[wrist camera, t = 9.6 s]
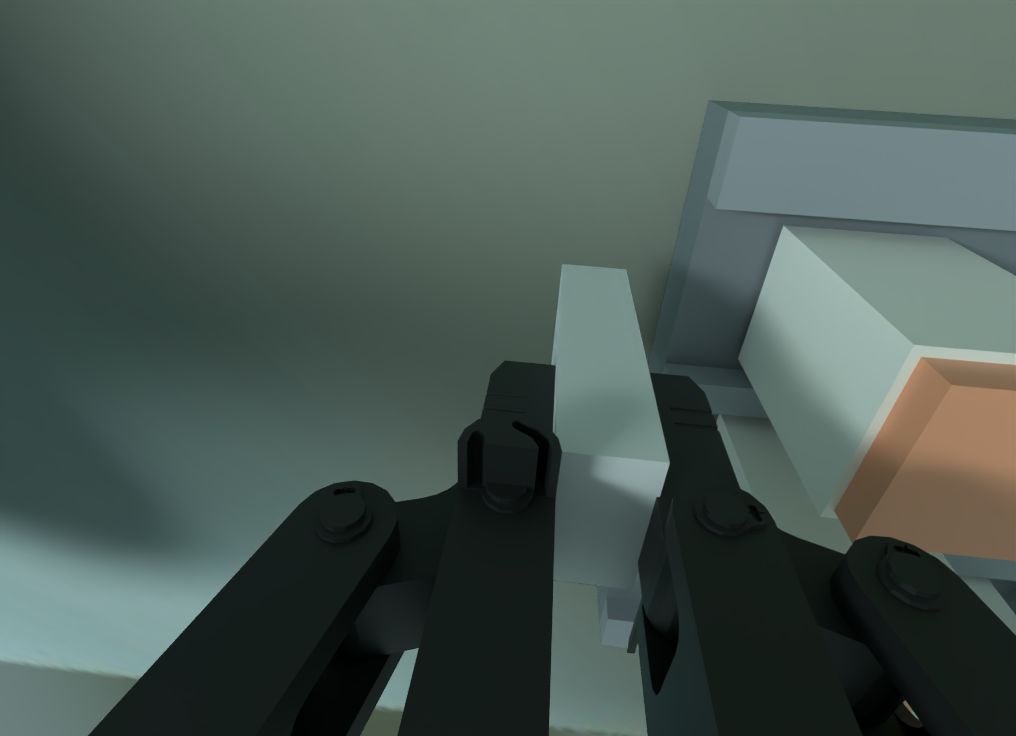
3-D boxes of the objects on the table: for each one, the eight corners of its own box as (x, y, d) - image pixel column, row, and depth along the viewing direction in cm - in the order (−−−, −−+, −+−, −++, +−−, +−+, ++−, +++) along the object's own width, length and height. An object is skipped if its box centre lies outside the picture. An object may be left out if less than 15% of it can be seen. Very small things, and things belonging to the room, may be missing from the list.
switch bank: (597, 584, 25) (601, 649, 23) (708, 100, 14) (743, 118, 11) (940, 622, 25) (985, 694, 22) (1359, 141, 13) (1564, 171, 10)
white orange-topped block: (738, 358, 16) (837, 549, 10) (782, 225, 13) (944, 372, 8) (877, 370, 15) (1060, 573, 10) (946, 237, 13) (1236, 398, 7)
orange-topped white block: (689, 500, 19) (743, 704, 13) (720, 411, 17) (800, 612, 11) (804, 511, 19) (908, 724, 13) (849, 424, 16) (999, 633, 11)
